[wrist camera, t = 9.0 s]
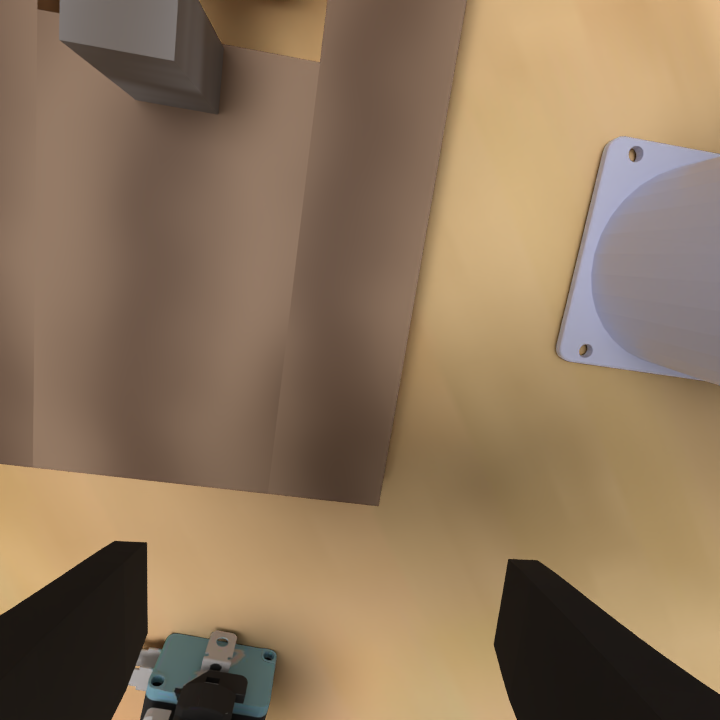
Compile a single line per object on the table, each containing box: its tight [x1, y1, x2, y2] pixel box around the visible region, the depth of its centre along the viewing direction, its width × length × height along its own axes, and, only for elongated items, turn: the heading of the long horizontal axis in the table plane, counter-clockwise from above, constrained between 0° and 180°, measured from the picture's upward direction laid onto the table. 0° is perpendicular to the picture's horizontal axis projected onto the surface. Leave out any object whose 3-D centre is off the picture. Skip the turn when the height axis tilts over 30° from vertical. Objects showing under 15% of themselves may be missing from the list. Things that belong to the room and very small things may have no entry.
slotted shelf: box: [0, 0, 467, 506], centre depth 13 cm, size 16×24×6 cm, turn 171°
